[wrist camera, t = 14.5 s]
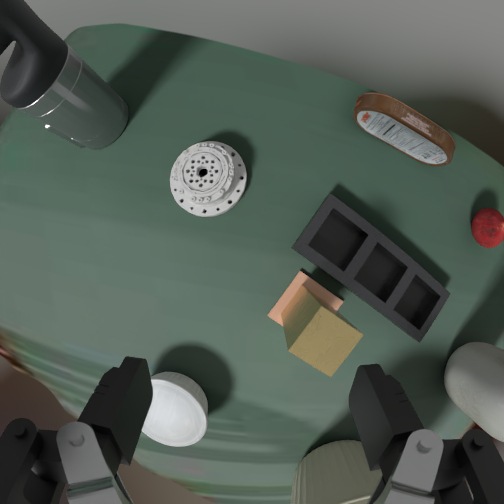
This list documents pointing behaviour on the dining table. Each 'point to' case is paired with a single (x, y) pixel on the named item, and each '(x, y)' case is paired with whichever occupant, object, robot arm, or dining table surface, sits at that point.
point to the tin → (404, 129)
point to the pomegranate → (488, 227)
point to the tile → (293, 288)
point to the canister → (334, 475)
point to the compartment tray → (372, 267)
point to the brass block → (318, 331)
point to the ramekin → (176, 410)
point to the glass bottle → (478, 384)
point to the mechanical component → (208, 178)
